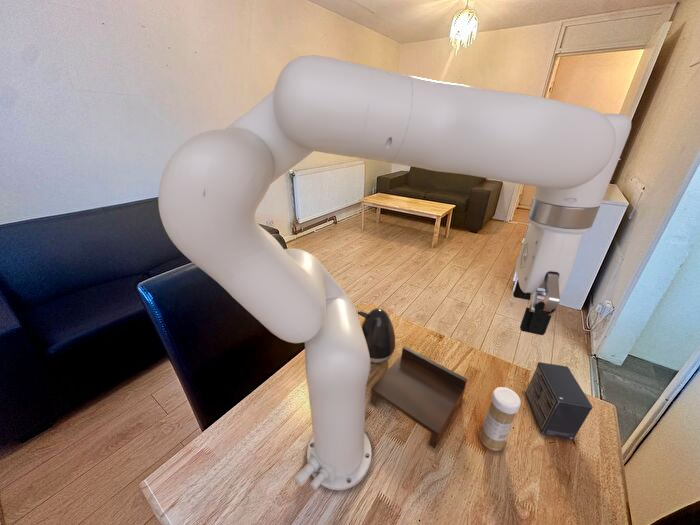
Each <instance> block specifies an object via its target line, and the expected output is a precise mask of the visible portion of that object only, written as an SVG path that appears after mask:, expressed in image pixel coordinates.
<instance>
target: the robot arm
mask: <svg viewBox="0 0 700 525" xmlns="http://www.w3.org/2000/svg"><path fill="white" fill-rule="evenodd" d="M274 84H275V85H274V89H272V91H271V92H270V93H268V94H267V95H266V96H265V97H263V99H261V100H260V101H259V102H258V103H256V105H254V106H253V107H252V108H250V109H249V110H248V111H246V112H245V113H244V114H243V115H241V116H239V118H237V119H236V120H234V122H232V123H231V124H229V125H228V126H226V127H225V128H221V129H213V130H212V129H211V130H207V131H203V132H201V133H199V134H196V135H194V136H192V137H190V138H188V139H187V140H186V141H184V142H183V143H182V144H181V145H180V146H179V147H178V148H177V149H176V150H175V151H174V153H173V154H172V155H171V156H170V158H169V160H168V161H167V164H166V166H164V170H163V172H162V174H161V178H160V183H159V188H158V194H157V195H158V197H157V201H158V212H159V216H160V220H161V223H162V225H163V228H164V230H165V232H166V234H167V236H168V238H169V240H170V241H171V242H172V243H173V244H174V246H175V247H176V249H178V250H179V251H180V252H181V253H182V254H183V255H184V256H185V257H186V258H187V259H188V260H189V261H190V262H192V263H193V264H194V265H195V266H197V267H198V268H199V269H201V271H202V272H204V273H205V274H207V275H208V276H209V277H210V278H211V279H213V281H215V282H217V283H218V285H219V286H221V287H222V288H223V289H224V290H225V291H226V292H227V293H228V294H229V296H231V297H232V298H233V299H234V300H235V301H236V302H237V303H238V304H239V305H240V306H242V307H243V308H244V309H245V310H246V311H247V312H248V313H249V314H250V315H252V317H254V318H255V319H256V320H257V321H258V322H259V323H260V324H261V325H262V326H264V327H265V328H266V329H267V330H268V331H269V332H270V333H271V334H273V335H274V336H276V337H277V338H278V339H280V340H282V341H285V342H287V343H291V344H302V343H304V362H305V363H304V364H305V375H306V383H307V387H308V388H307V389H308V399H309V408H310V417H311V418H310V419H311V428H312V436H311V437H310V439H309V442H308V445H307V448H306V449H307V450H306V464H305V466H303V467H302V468H301V469H300V470H299V472H297V474H296V475H295V476H294V480H295V482H296V484H297V485H298V486H299V487H300V488H302V487H303V486H304V485H305V484H306V482H307V481H308V480H309V479H310V477H311V476H312V477H313V479H312V481H311V482H310V483H309V484H310V486H311V488H312V489H313V490H314V491H317V490H318V488H319V487H320V486H322V487H324V488H326V489H329V490H332V491H344V490H345V491H346V490H348V489H352V488H353V487H355V486H356V485H358V484H359V483H360V482H361V481H362V480H363V479H364V478H365V476H366V475H367V474H368V471H369V469H370V467H371V463H372V456H373V454H372V452H373V450H372V445H371V441H370V438H369V436H368V435H367V433H366V432H365V431H366V430H365V428H366V425H365V424H366V397H367V385H368V380H369V377H370V373H371V362H370V355H369V350H368V346H367V343H366V339H365V337H364V333H363V330H362V327H361V325H362V324H361V322H360V319H359V314H358V311H357V309H356V307H355V305H354V303H353V301H352V300H351V298H350V297H349V296H348V294H347V293H346V292H345V290H344V289H343V288H342V287H341V285H340V284H339V283H338V282H337V281H336V279H335V278H334V277H333V276H332V275H331V273H330V272H329V271H328V270H327V268H326V267H325V266H324V265H323V263H322V262H321V261H320V260H319V259H318V258H317V257H316V256H314V254H311V253H310V252H308V251H306V250H303V249H301V248H283V246H282V245H281V243H280V242H279V241H278V240H277V239H276V238H275V237H274V236H273V234H271V233H270V232H269V231H267V230H266V229H265V228H264V227H262V226H261V225H260V224H259V223H258V221H257V219H256V212H257V209H258V208H259V206H260V204H261V203H262V201H263V200H264V198H265V196H266V194H267V192H268V190H269V188H270V186H271V185H272V184H273V183H274V182H275V181H277V180H278V179H279V178H281V177H282V176H283V175H284V174H286V173H287V172H289V171H290V170H292V168H294V167H295V166H297V165H298V164H300V163H301V162H302V161H303V160H305V159H306V158H307V157H309V155H311V154H312V153H313V152H317V153H323V154H330V155H335V156H341V157H348V158H358V159H364V160H372V161H376V162H377V161H378V162H385V163H388V164H395V165H401V166H406V167H414V168H419V169H424V170H428V171H433V172H440V173H450V174H460V175H466V176H471V177H472V176H473V177H479V178H485V179H490V180H496V181H501V182H506V183H511V184H517V185H523V186H529V187H530V186H531V187H536V188H535V191H534V195H533V197H532V200H531V203H530V204H531V205H530V208H529V211H528V215H527V217H526V218H527V219H526V221H527V222H528V224H529V225H528V228H527V230H526V233H525V236H524V238H523V241H522V244H521V247H520V250H519V252H518V256H517V259H516V262H515V268H514V269H515V274H516V278H517V281H516V283H515V287H514V290H513V294H512V295H513V298H516V299H522V300H527V301H529V307H526V308H525V309H524V310H525V311H524V314H523V316H522V320H521V323H520V325H519V330H520V331H521V332H525V333H529V334H533V335H538V336H544V335H546V331H547V329H548V327H549V324H550V322H551V319H552V317H553V316H554V313H555V312H556V311H557V306H559V304H560V301H561V296H562V295H563V293H564V291H565V288H566V286H567V284H568V282H569V279H570V276H571V273H572V271H573V267H574V265H575V262H576V258H577V255H578V251H579V249H580V245H581V240H582V237H583V233H584V234H585V233H588V232H590V231H591V230H592V228H593V225H594V223H595V220H596V218H597V215H598V213H599V210H600V208H601V205H602V202H603V200H604V197H605V195H606V193H607V190H608V188H609V185H610V182H611V180H612V179H613V175H614V173H615V170H616V168H617V165H618V163H619V161H620V159H621V156H622V153H623V150H624V148H625V145H626V143H627V141H628V138H629V135H630V132H631V130H632V119H631V118H630V117H629V116H628V115H626V114H623V113H622V114H621V113H602V112H600V111H599V110H596V109H593V108H589V107H585V106H583V105H577V104H573V103H570V102H565V101H561V100H556V99H553V98H547V97H542V96H536V95H529V94H523V93H516V92H511V91H510V92H508V91H501V90H494V89H493V90H492V89H486V88H480V87H476V86H475V87H474V86H471V85H466V84H459V83H451V82H444V81H437V80H432V79H428V78H422V77H418V76H415V75H414V76H413V75H409V74H403V73H400V72H394V71H390V70H386V69H382V68H379V67H378V68H377V67H374V66H370V65H365V64H361V63H356V62H353V61H348V60H343V59H339V58H335V57H332V56H331V57H330V56H323V55H317V54H307V55H300V56H298V57H295V58H294V59H292V60H290V61H289V62H288V63H287V64H286V65H285V66H284V67H283V68H282V70H281V71H280V73H279V75H278V77H277V79H276V81H275V83H274ZM538 289H542V290H538ZM543 289H544V290H543ZM538 297H542V298H543V301H538Z"/></svg>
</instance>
